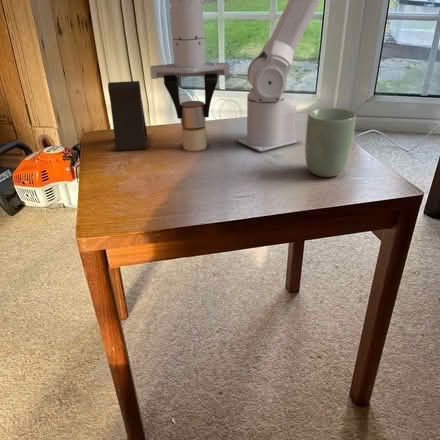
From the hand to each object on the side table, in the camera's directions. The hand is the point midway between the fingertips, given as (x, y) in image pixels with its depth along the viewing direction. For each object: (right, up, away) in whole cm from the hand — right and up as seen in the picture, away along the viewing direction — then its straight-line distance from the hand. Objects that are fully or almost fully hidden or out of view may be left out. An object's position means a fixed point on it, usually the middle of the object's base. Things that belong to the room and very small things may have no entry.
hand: (193, 116), depth 89 cm
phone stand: (-13, -3, +7) cm, 15 cm away
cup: (+24, -14, -9) cm, 29 cm away
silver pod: (0, -1, +1) cm, 2 cm away
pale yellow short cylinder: (0, -5, +4) cm, 6 cm away
